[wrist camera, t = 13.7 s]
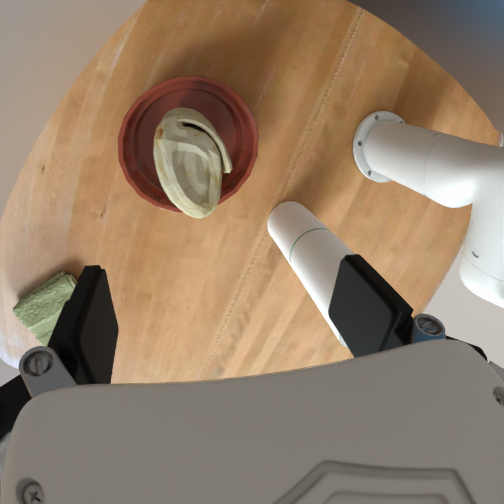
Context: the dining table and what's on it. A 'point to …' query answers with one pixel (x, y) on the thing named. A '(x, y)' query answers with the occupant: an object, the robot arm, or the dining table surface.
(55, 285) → the washcloth
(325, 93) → the dining table surface
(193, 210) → the food model
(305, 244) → the cylindrical container
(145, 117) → the bowl
